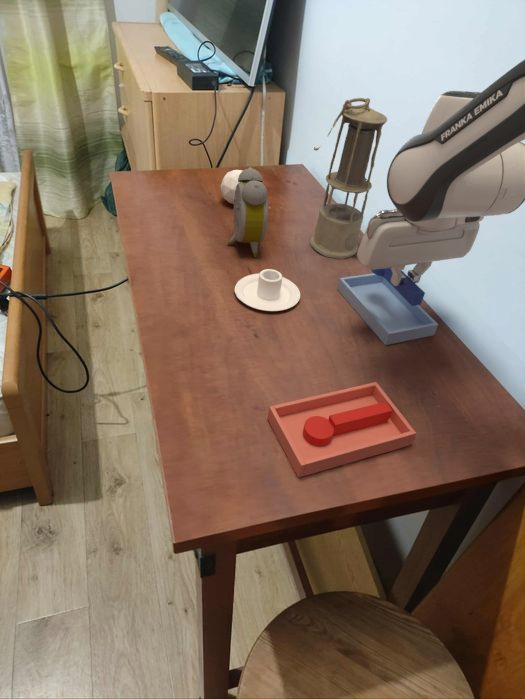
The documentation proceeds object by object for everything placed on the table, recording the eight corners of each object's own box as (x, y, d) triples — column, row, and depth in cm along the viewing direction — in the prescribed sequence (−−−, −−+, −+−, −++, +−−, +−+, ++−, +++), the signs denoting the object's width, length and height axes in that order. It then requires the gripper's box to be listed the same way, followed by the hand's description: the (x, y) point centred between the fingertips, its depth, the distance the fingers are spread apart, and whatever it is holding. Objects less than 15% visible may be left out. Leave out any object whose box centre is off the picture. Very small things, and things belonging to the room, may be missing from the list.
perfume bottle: (216, 195, 115) (209, 180, 124) (243, 216, 119) (235, 200, 128) (237, 167, 112) (229, 154, 122) (265, 190, 116) (255, 175, 126)
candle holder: (223, 300, 91) (224, 280, 88) (251, 270, 99) (253, 250, 96) (285, 322, 88) (288, 301, 85) (308, 289, 96) (312, 269, 94)
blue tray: (433, 335, 89) (438, 324, 88) (385, 345, 86) (389, 333, 84) (381, 282, 101) (384, 271, 99) (336, 289, 97) (339, 277, 96)
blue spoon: (426, 303, 85) (430, 292, 83) (406, 307, 83) (410, 295, 82) (385, 263, 93) (388, 252, 92) (366, 266, 92) (369, 254, 90)
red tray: (372, 393, 76) (376, 381, 75) (411, 445, 70) (416, 433, 68) (267, 418, 70) (269, 406, 69) (298, 477, 64) (301, 465, 62)
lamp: (362, 259, 107) (402, 108, 88) (301, 257, 105) (329, 102, 86) (351, 235, 115) (386, 91, 95) (294, 232, 113) (318, 85, 93)
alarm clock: (263, 260, 103) (272, 188, 93) (230, 259, 101) (235, 187, 92) (255, 232, 111) (262, 163, 102) (224, 231, 110) (228, 162, 100)
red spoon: (377, 407, 74) (381, 395, 72) (392, 427, 71) (396, 416, 69) (297, 427, 69) (300, 415, 68) (310, 449, 66) (313, 437, 65)
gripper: (384, 221, 71) (361, 302, 80) (495, 210, 78) (462, 285, 87) (361, 201, 76) (342, 280, 84) (468, 192, 83) (440, 266, 92)
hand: (404, 282), depth 86 cm, fingers closed on blue spoon, 2 cm apart
